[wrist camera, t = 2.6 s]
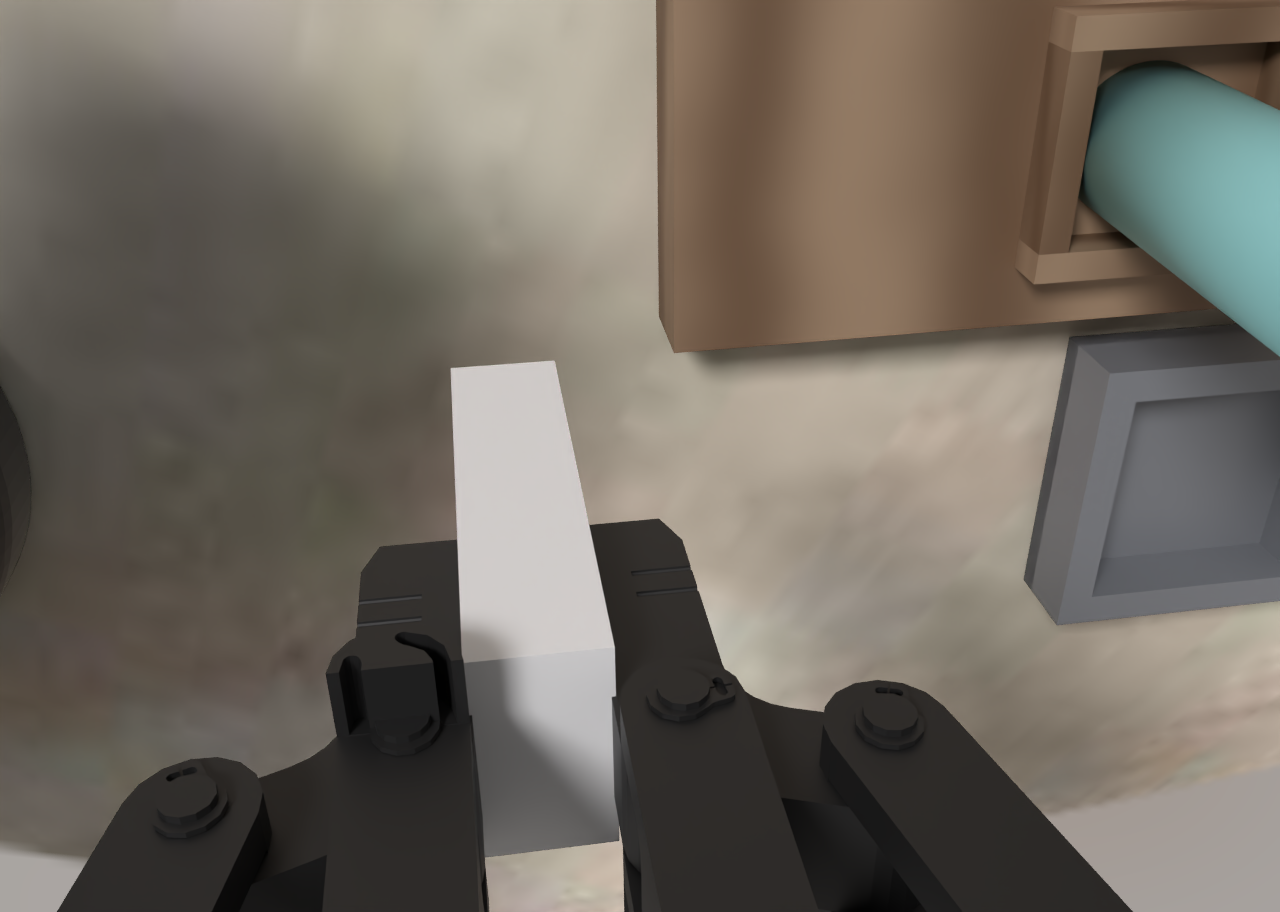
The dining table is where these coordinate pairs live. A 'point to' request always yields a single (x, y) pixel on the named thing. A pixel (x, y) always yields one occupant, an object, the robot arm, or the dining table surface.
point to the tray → (1160, 477)
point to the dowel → (1193, 184)
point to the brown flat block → (909, 161)
